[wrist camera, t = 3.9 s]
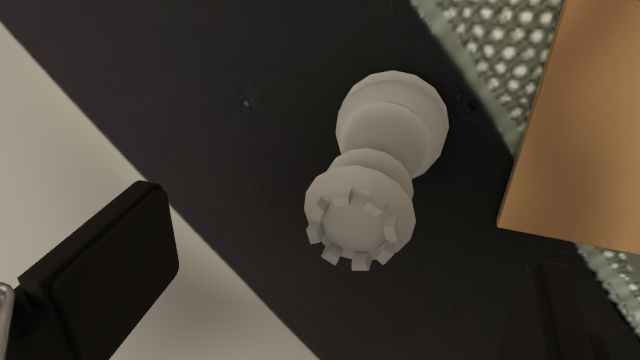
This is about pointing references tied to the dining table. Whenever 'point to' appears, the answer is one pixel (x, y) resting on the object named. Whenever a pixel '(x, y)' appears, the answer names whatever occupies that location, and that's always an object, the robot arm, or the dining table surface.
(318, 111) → the dining table surface
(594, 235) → the wooden board
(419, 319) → the dining table surface
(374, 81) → the rook chess piece
